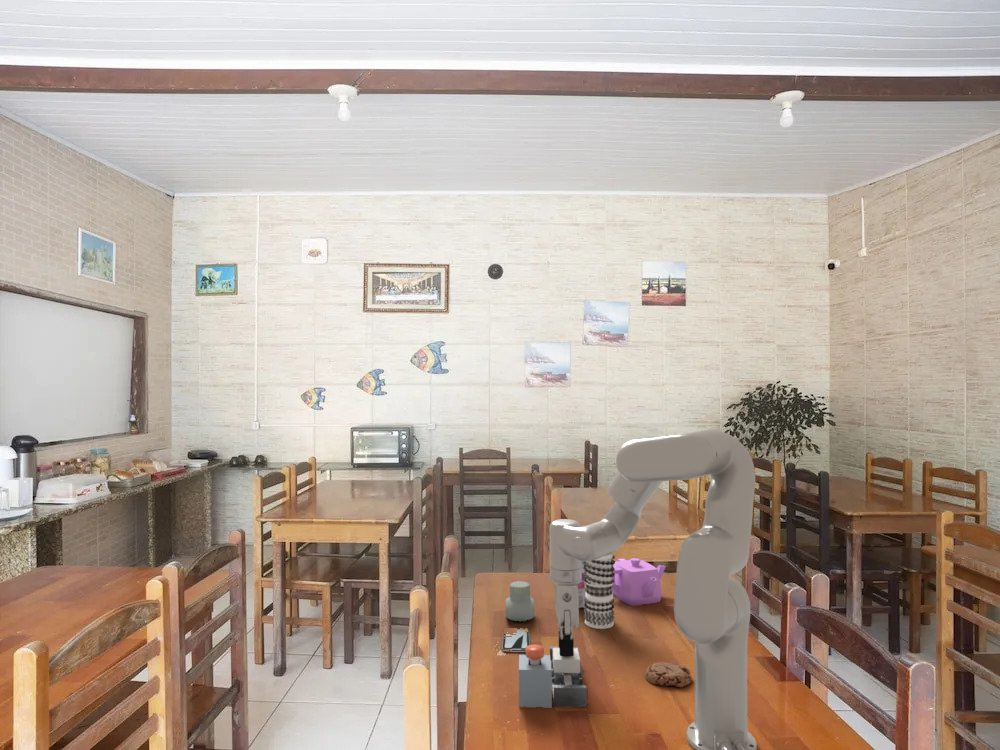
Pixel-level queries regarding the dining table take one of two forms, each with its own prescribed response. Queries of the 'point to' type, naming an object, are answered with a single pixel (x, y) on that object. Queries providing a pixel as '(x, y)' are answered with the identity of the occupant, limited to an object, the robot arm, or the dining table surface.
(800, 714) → the dining table surface
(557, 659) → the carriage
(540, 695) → the button housing
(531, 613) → the air freshener
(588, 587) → the decorative candle
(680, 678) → the cookie
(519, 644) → the smartphone
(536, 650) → the button
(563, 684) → the rail
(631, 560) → the teakettle
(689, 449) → the robot arm
